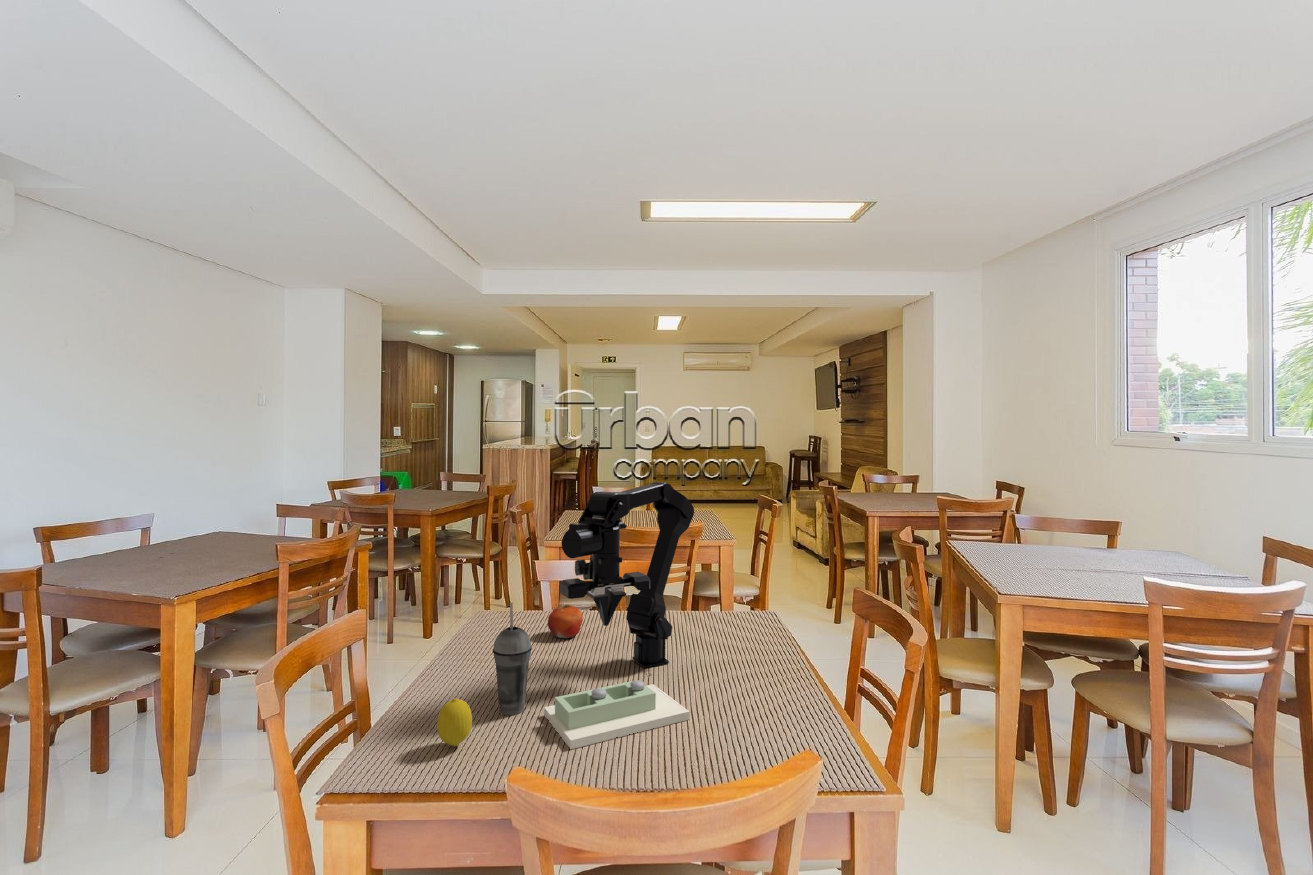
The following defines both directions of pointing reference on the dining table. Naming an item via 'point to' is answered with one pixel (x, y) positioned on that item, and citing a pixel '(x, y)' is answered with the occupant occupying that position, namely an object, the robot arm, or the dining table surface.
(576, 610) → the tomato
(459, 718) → the lemon
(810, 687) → the dining table surface
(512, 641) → the beverage cup
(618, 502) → the robot arm
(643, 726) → the board
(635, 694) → the panel
